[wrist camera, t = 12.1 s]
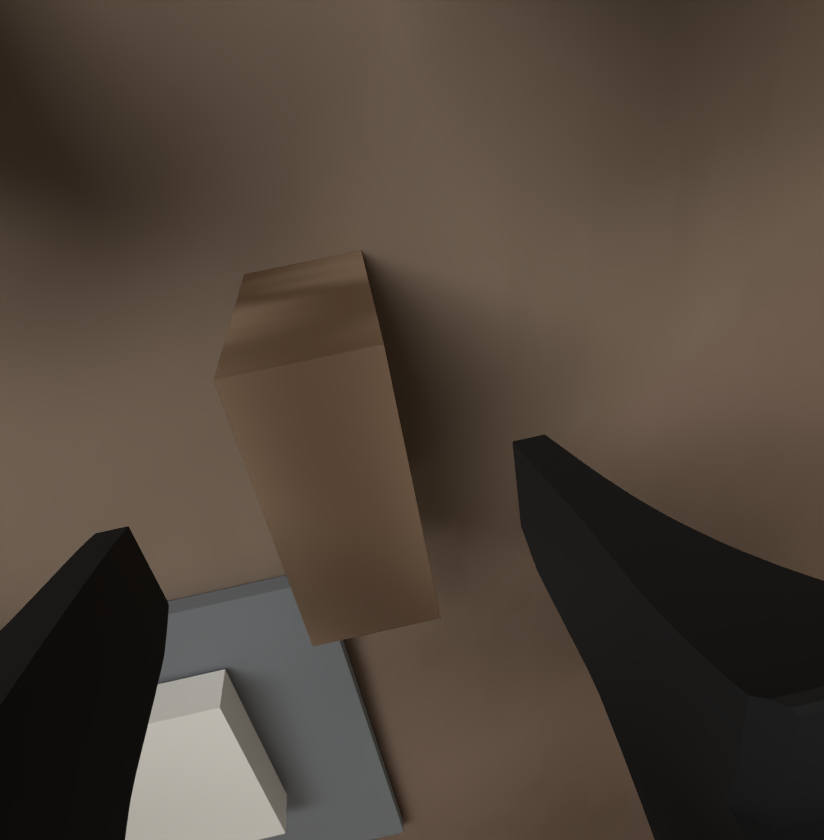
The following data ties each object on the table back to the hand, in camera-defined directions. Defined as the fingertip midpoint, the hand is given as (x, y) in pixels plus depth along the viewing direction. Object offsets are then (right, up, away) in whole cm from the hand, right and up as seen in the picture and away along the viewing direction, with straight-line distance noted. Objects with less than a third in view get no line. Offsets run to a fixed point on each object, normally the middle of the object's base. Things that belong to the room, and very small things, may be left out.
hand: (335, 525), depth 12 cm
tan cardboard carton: (-1, +3, +6) cm, 7 cm away
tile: (-9, -8, +9) cm, 15 cm away
